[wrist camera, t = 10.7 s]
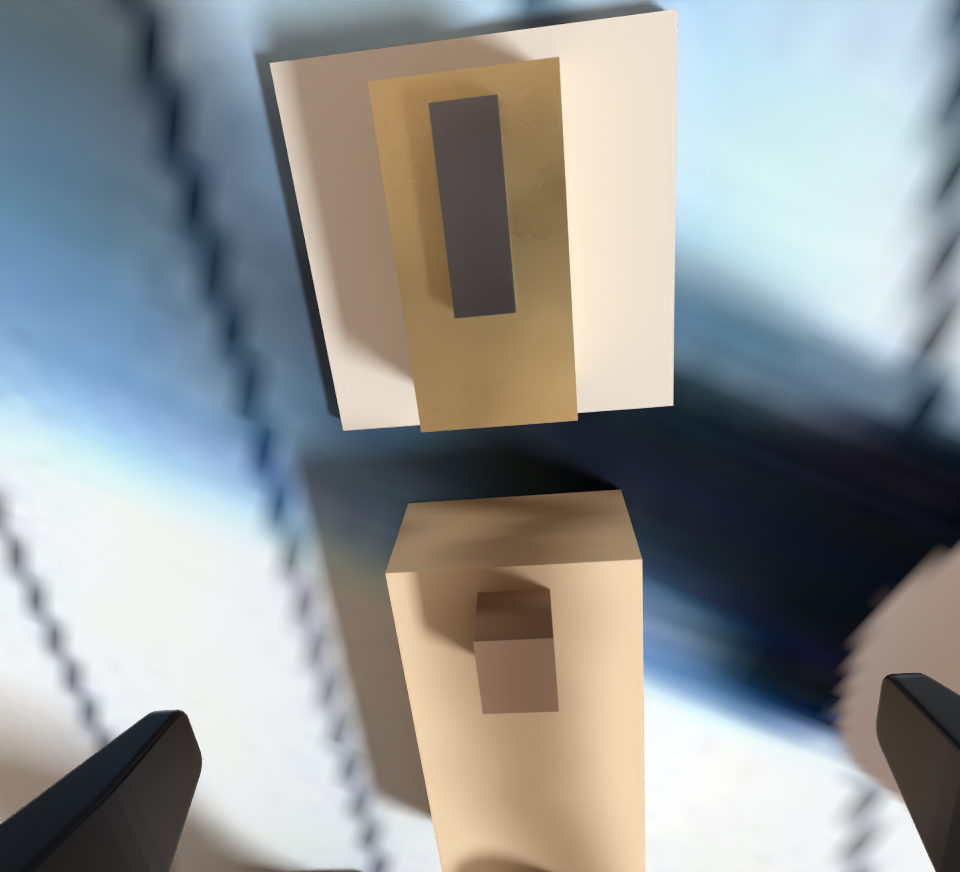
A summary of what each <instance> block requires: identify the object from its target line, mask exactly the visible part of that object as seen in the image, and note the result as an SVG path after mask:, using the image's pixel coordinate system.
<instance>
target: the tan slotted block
mask: <svg viewBox="0 0 960 872" xmlns="http://www.w3.org/2000/svg"><path fill="white" fill-rule="evenodd" d="M368 87H369V93H370V100H371V106H372V113H373V119H374V126H375V132H376V139H377V146H378V152H379V159H380V165H381V172H382V178H383V185H384V192H385V198H386V205H387V211H388V218H389V224H390V231H391V237H392V244H393V251H394V257H395V264H396V270H397V277H398V283H399V290H400V296H401V303H402V310H403V316H404V323H405V329H406V336H407V342H408V349H409V356H410V362H411V369H412V375H413V382H414V388H415V395H416V401H417V408H418V415H419V421H420V428H421V432H432V431H445V430H458V429H471V428H484V427H497V426H510V425H523V424H536V423H550V422H563V421H576V420H578V412H577V392H576V373H575V354H574V334H573V315H572V295H571V276H570V256H569V237H568V218H567V198H566V179H565V159H564V140H563V120H562V101H561V81H560V62H559V57H552V58H545V59H537V60H529V61H522V62H514V63H506V64H498V65H491V66H483V67H475V68H467V69H460V70H452V71H444V72H437V73H429V74H421V75H413V76H406V77H398V78H390V79H383V80H375V81H368Z"/></svg>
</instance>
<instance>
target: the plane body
mask: <svg viewBox="0 0 960 872" xmlns="http://www.w3.org/2000/svg"><path fill="white" fill-rule="evenodd" d="M385 575H386V580H387V586H388V591H389V596H390V601H391V606H392V612H393V617H394V622H395V627H396V633H397V638H398V643H399V648H400V654H401V659H402V664H403V669H404V674H405V680H406V685H407V690H408V695H409V701H410V706H411V711H412V716H413V721H414V727H415V732H416V737H417V742H418V748H419V753H420V758H421V763H422V769H423V774H424V779H425V784H426V789H427V795H428V800H429V805H430V810H431V816H432V821H433V826H434V831H435V836H436V842H437V847H438V852H439V857H440V863H441V868H442V872H645V801H644V699H643V598H642V557H641V554H640V551H639V547H638V544H637V541H636V538H635V534H634V531H633V528H632V525H631V521H630V518H629V515H628V511H627V508H626V505H625V502H624V498H623V495H622V492H621V490H606V491H590V492H575V493H560V494H544V495H529V496H513V497H498V498H483V499H467V500H452V501H436V502H421V503H408V506H407V509H406V512H405V515H404V518H403V521H402V524H401V527H400V530H399V533H398V536H397V539H396V542H395V545H394V548H393V551H392V554H391V557H390V560H389V563H388V566H387V569H386V572H385Z"/></svg>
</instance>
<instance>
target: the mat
mask: <svg viewBox="0 0 960 872" xmlns="http://www.w3.org/2000/svg"><path fill="white" fill-rule="evenodd" d="M552 57H559V62H560V81H561V101H562V120H563V140H564V159H565V179H566V198H567V218H568V237H569V256H570V276H571V295H572V315H573V334H574V354H575V373H576V392H577V412H578V413H582V412H595V411H608V410H621V409H634V408H647V407H660V406H673V366H674V272H675V178H676V84H677V9H673V10H666V11H658V12H651V13H643V14H636V15H628V16H621V17H613V18H606V19H598V20H590V21H583V22H575V23H568V24H560V25H553V26H545V27H538V28H530V29H523V30H515V31H507V32H500V33H492V34H485V35H477V36H470V37H462V38H455V39H447V40H439V41H432V42H424V43H417V44H409V45H402V46H394V47H387V48H379V49H372V50H364V51H356V52H349V53H341V54H334V55H326V56H319V57H311V58H304V59H296V60H289V61H281V62H273V63H270V68H271V73H272V78H273V83H274V88H275V93H276V98H277V103H278V108H279V112H280V117H281V122H282V127H283V132H284V137H285V142H286V147H287V152H288V157H289V162H290V167H291V172H292V177H293V182H294V187H295V192H296V197H297V202H298V207H299V212H300V217H301V222H302V227H303V232H304V237H305V242H306V247H307V252H308V257H309V262H310V267H311V272H312V277H313V282H314V287H315V292H316V297H317V302H318V307H319V312H320V317H321V322H322V327H323V332H324V337H325V342H326V347H327V352H328V357H329V362H330V367H331V372H332V377H333V382H334V387H335V392H336V397H337V402H338V407H339V412H340V417H341V421H342V426H343V431H346V430H359V429H372V428H386V427H399V426H412V425H420V421H419V415H418V408H417V401H416V395H415V388H414V382H413V375H412V369H411V362H410V356H409V349H408V342H407V336H406V329H405V323H404V316H403V310H402V303H401V296H400V290H399V283H398V277H397V270H396V264H395V257H394V251H393V244H392V237H391V231H390V224H389V218H388V211H387V205H386V198H385V192H384V185H383V178H382V172H381V165H380V159H379V152H378V146H377V139H376V132H375V126H374V119H373V113H372V106H371V100H370V93H369V87H368V81H375V80H383V79H390V78H398V77H406V76H413V75H421V74H429V73H437V72H444V71H452V70H460V69H467V68H475V67H483V66H491V65H498V64H506V63H514V62H522V61H529V60H537V59H545V58H552Z"/></svg>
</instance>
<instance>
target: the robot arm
mask: <svg viewBox="0 0 960 872" xmlns="http://www.w3.org/2000/svg"><path fill="white" fill-rule="evenodd" d="M876 733H877V738H878V742H879V745H880V747H881V749H882V752H883V754H884V756H885V758H886V761H887V763H888V765H889V768H890V770H891V772H892V774H893V776H894V779H895V781H896V784H897V786H898V788H899V790H900V793H901V795H902V797H903V799H904V802H905V804H906V806H907V808H908V811H909V813H910V815H911V818H912V820H913V822H914V824H915V827H916V829H917V831H918V833H919V836H920V838H921V840H922V843H923V845H924V847H925V849H926V852H927V854H928V856H929V858H930V860H931V862H932V865H933V867H934V869H935V871H936V872H960V695H959V694H957V693H955V692H954V691H952V690H950V689H949V688H947V687H945V686H943V685H942V684H940V683H939V682H937V681H935V680H934V679H932V678H930V677H928V676H926V675H924V674H921V673H902V674H890V675H887V676H886V677H885V678H884V679H883V681H882V685H881V692H880V699H879V706H878V713H877V719H876ZM201 767H202V756H201V752H200V749H199V746H198V743H197V740H196V738H195V735H194V732H193V729H192V727H191V724H190V721H189V718H188V716H187V714H185V713H184V712H183V711H181V710H163V711H154V712H151V713H149V714H148V715H146V716H145V717H144V718H142V719H141V720H139V721H138V722H137V723H135V724H134V725H133V726H131V727H130V728H129V729H127V730H126V731H125V732H123V733H122V734H121V735H119V736H118V737H117V738H115V739H114V740H113V741H111V742H110V743H109V744H107V745H106V746H105V747H103V748H102V749H101V750H99V751H98V752H97V753H95V754H94V755H92V756H91V757H90V758H88V759H87V760H86V761H84V762H83V763H82V764H80V765H79V766H78V767H76V768H75V769H74V770H72V771H71V772H70V773H68V774H67V775H66V776H64V777H63V778H62V779H60V780H59V781H58V782H56V783H55V784H54V785H52V786H51V787H50V788H48V789H47V790H46V791H44V792H43V793H41V794H40V795H39V796H37V797H36V798H35V799H33V800H32V801H31V802H29V803H28V804H27V805H25V806H24V807H23V808H21V809H20V810H19V811H17V812H16V813H15V814H13V815H12V816H11V817H9V818H8V819H7V820H5V821H4V822H3V823H1V824H0V872H170V869H171V866H172V862H173V859H174V856H175V853H176V850H177V846H178V843H179V840H180V837H181V834H182V831H183V827H184V824H185V821H186V818H187V815H188V812H189V808H190V805H191V802H192V799H193V796H194V793H195V789H196V786H197V783H198V780H199V777H200V773H201Z"/></svg>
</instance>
